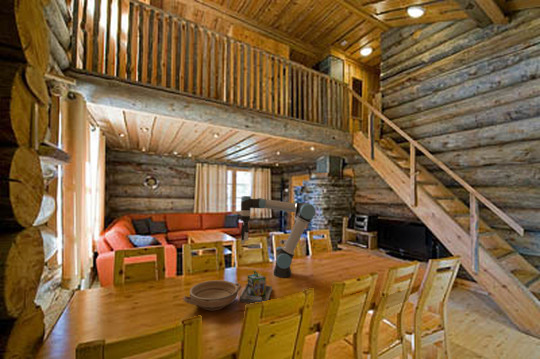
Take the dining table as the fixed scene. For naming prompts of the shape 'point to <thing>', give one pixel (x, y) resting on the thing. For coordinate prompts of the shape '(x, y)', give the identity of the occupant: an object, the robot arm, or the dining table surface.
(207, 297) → the ceramic bowl
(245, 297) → the motor base
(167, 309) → the dining table surface
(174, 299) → the dining table surface
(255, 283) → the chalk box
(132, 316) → the dining table surface
